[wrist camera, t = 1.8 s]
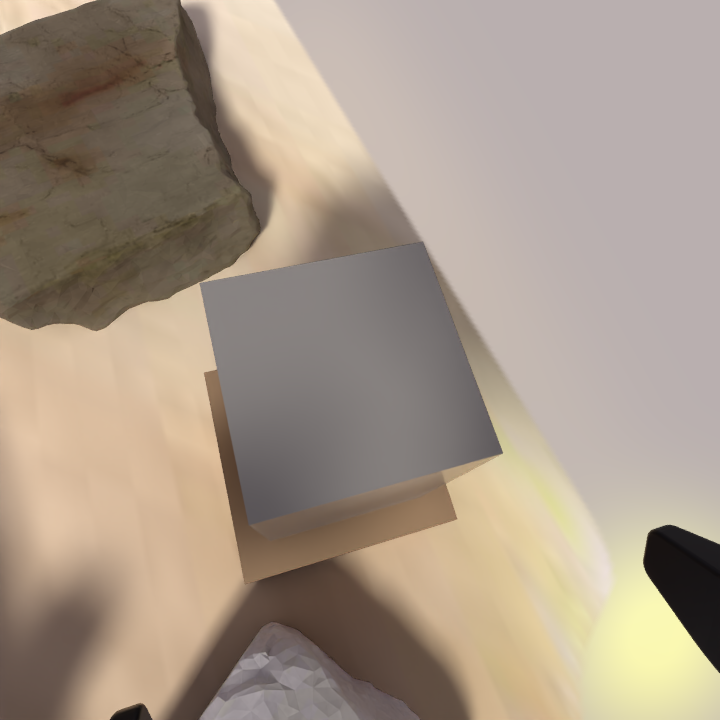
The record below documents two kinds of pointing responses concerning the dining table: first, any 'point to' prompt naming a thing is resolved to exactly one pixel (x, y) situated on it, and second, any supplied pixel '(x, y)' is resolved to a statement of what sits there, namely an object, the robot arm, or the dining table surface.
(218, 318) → the grey block
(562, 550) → the dining table surface
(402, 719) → the stone block
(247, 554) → the plinth
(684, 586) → the robot arm
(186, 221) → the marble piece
